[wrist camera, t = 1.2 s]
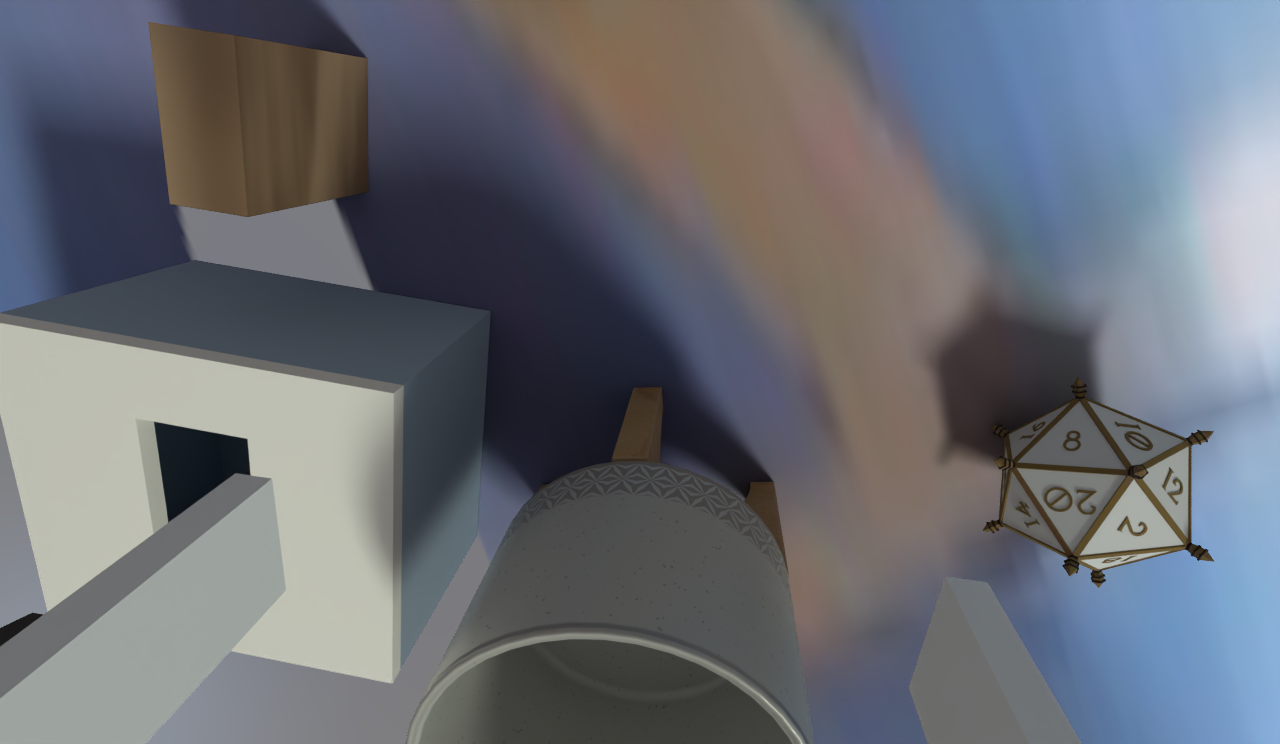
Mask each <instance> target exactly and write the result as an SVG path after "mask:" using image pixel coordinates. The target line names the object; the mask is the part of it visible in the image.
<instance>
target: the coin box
mask: <svg viewBox="0 0 1280 744" xmlns="http://www.w3.org/2000/svg"><path fill="white" fill-rule="evenodd" d="M490 316H491V311H488V310H482V309H476V308H470V307H464V306H459V305H453V304H447V303H441V302H435V301H430V300H424V299H418V298H412V297H406V296H400V295H395V294H389V293H383V292H377V291H371V290H365V289H359V288H354V287H348V286H342V285H336V284H331V283H325V282H319V281H313V280H307V279H301V278H295V277H290V276H283V275H278V274H272V273H267V272H261V271H255V270H249V269H243V268H238V267H232V266H226V265H220V264H213V263H208V262H203V261H197V260H194V261H190V262H186V263H182V264H179V265H175V266H171V267H168V268H164V269H160V270H157V271H153V272H149V273H145V274H142V275H138V276H134V277H131V278H127V279H123V280H120V281H116V282H112V283H108V284H105V285H101V286H97V287H94V288H90V289H86V290H83V291H79V292H75V293H72V294H68V295H64V296H60V297H57V298H53V299H49V300H46V301H42V302H38V303H35V304H31V305H27V306H23V307H20V308H16V309H12V310H9V311H5V312H1V313H0V414H1V419H2V423H3V427H4V431H5V436H6V440H7V444H8V448H9V452H10V456H11V460H12V465H13V469H14V473H15V477H16V482H17V485H18V490H19V494H20V498H21V502H22V507H23V511H24V515H25V519H26V523H27V527H28V531H29V536H30V540H31V544H32V548H33V552H34V557H35V560H36V565H37V569H38V573H39V577H40V582H41V586H42V590H43V594H44V598H45V602H46V607H47V611H49V610H51V609H52V608H53V607H55V606H56V605H57V604H59V603H60V602H62V601H63V600H64V599H66V598H67V597H68V596H70V595H71V594H72V593H74V592H75V591H76V590H78V589H79V588H81V587H82V586H83V585H85V584H86V583H87V582H89V581H90V580H91V579H93V578H94V577H95V576H97V575H98V574H100V573H101V572H102V571H104V570H105V569H106V568H108V567H109V566H110V565H112V564H113V563H114V562H116V561H117V560H119V559H120V558H121V557H123V556H124V555H125V554H127V553H128V552H129V551H131V550H132V549H133V548H135V547H136V546H138V545H139V544H140V543H142V542H143V541H144V540H146V539H147V538H148V537H150V536H151V535H152V534H154V533H155V532H157V531H158V530H159V529H161V528H162V527H163V526H165V525H166V524H167V523H169V522H170V521H171V520H173V519H174V518H176V517H177V516H178V515H180V514H181V513H182V512H184V511H185V510H186V509H188V508H189V507H190V506H192V505H193V504H195V503H196V502H197V501H199V500H200V499H201V498H203V497H204V496H205V495H207V494H208V493H209V492H211V491H212V490H214V489H215V488H216V487H218V486H219V485H220V484H222V483H223V482H224V481H226V480H227V479H228V478H230V477H231V476H233V475H234V474H235V473H237V474H244V475H251V476H258V477H265V478H272V481H273V489H274V497H275V505H276V513H277V521H278V529H279V537H280V545H281V553H282V561H283V569H284V577H285V585H286V591H285V592H284V593H283V594H282V595H281V596H280V597H279V598H278V600H277V601H276V602H275V603H274V604H273V605H272V606H271V607H270V608H269V609H268V610H267V612H266V613H265V614H264V615H263V616H262V617H261V618H260V619H259V620H258V621H257V623H256V624H255V625H254V626H253V627H252V628H251V629H250V630H249V631H248V632H247V633H246V635H245V636H244V637H243V638H242V639H241V640H240V641H239V642H238V643H237V644H236V646H235V647H234V648H233V649H232V650H231V651H233V652H238V653H243V654H248V655H253V656H258V657H263V658H268V659H273V660H278V661H283V662H288V663H293V664H298V665H303V666H308V667H313V668H318V669H323V670H328V671H333V672H338V673H343V674H348V675H352V676H357V677H363V678H367V679H373V680H378V681H382V682H387V683H393V681H394V679H395V678H396V676H397V674H398V672H399V671H400V669H401V667H402V665H403V664H404V662H405V660H406V659H407V657H408V655H409V653H410V652H411V650H412V648H413V646H414V645H415V643H416V641H417V640H418V638H419V636H420V634H421V632H422V631H423V629H424V627H425V626H426V624H427V622H428V620H429V619H430V617H431V615H432V613H433V612H434V610H435V608H436V606H437V605H438V603H439V601H440V599H441V598H442V596H443V594H444V592H445V591H446V589H447V587H448V585H449V584H450V582H451V580H452V579H453V577H454V575H455V573H456V571H457V570H458V568H459V566H460V565H461V563H462V561H463V559H464V558H465V556H466V554H467V552H468V550H469V549H470V547H471V545H472V544H473V542H474V540H475V538H476V537H477V526H478V510H479V493H480V477H481V461H482V445H483V429H484V413H485V397H486V381H487V364H488V348H489V332H490Z"/></svg>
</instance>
